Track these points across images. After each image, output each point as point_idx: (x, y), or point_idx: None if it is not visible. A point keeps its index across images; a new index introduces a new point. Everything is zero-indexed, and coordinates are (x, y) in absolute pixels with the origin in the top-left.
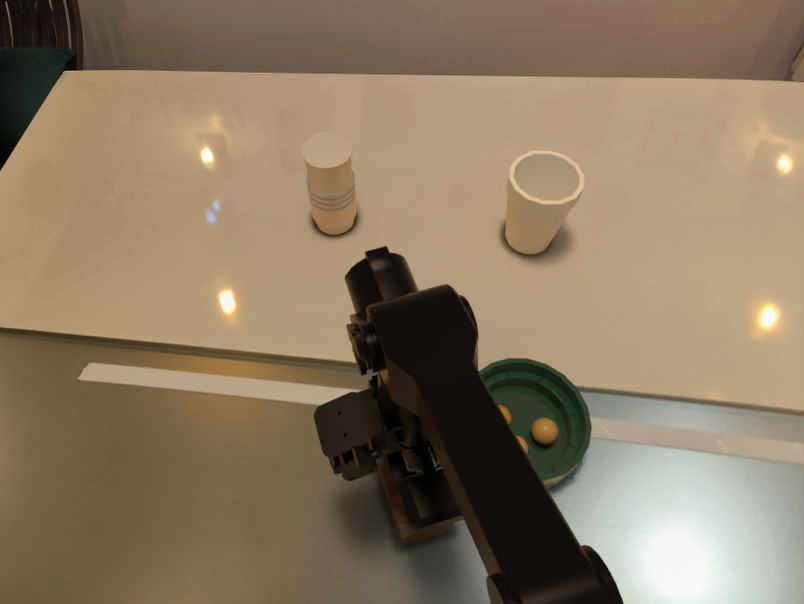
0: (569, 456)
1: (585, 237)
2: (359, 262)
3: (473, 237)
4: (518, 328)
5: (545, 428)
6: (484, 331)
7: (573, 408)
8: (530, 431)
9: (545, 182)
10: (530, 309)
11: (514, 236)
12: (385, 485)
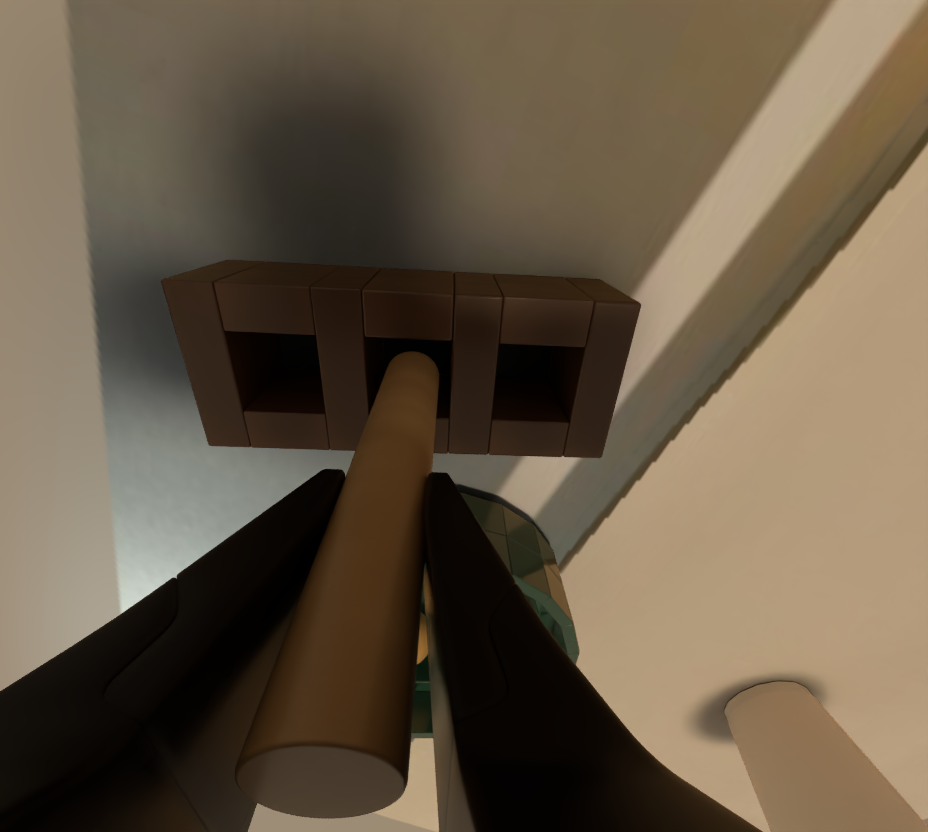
0: None
1: (699, 751)
2: None
3: (841, 645)
4: (619, 641)
5: None
6: (650, 598)
7: (427, 690)
8: (422, 601)
9: None
10: (640, 665)
11: (797, 729)
12: (360, 285)
